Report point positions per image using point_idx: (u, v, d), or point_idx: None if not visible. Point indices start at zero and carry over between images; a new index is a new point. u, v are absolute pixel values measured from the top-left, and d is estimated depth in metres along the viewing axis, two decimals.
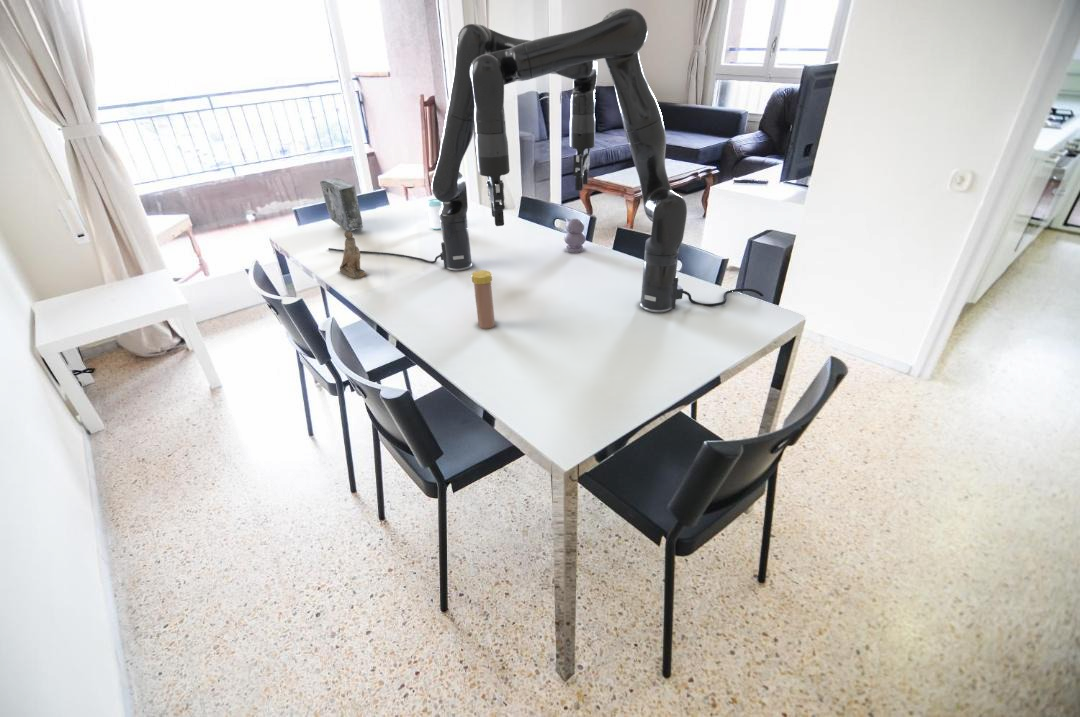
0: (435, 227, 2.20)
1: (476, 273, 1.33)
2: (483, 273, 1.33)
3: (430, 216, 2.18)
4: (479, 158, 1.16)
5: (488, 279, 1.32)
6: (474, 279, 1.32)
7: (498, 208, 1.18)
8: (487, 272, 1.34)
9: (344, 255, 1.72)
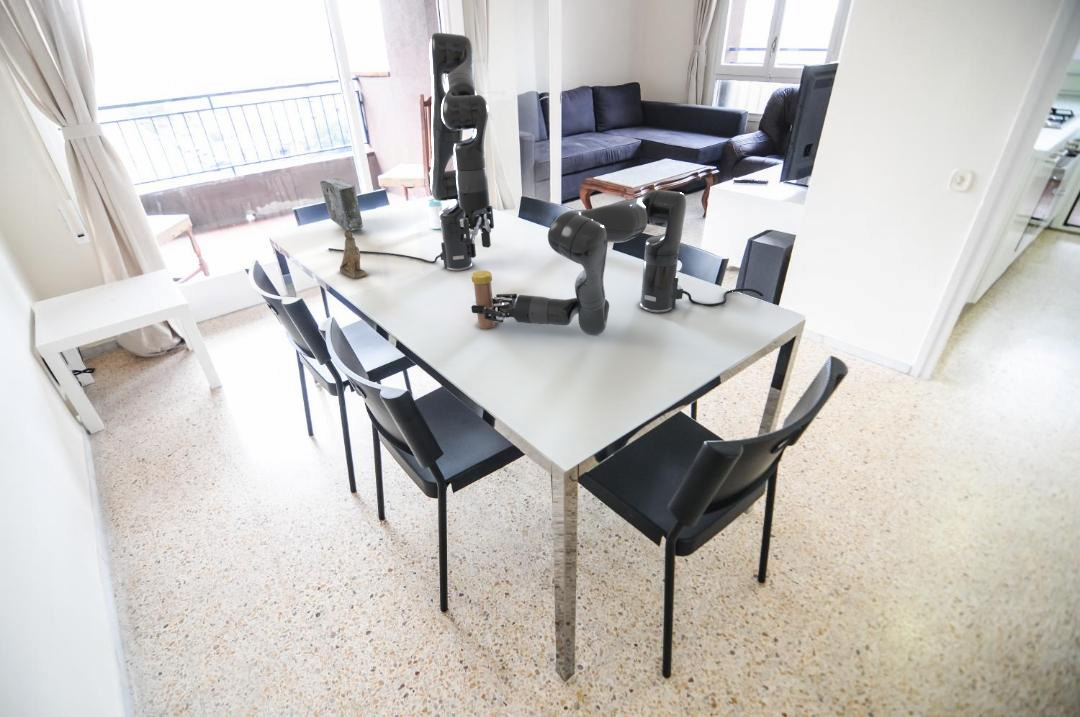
0: (435, 227, 2.20)
1: (476, 273, 1.33)
2: (483, 273, 1.33)
3: (430, 216, 2.18)
4: None
5: (488, 279, 1.32)
6: (474, 279, 1.32)
7: None
8: (487, 272, 1.34)
9: (344, 255, 1.72)
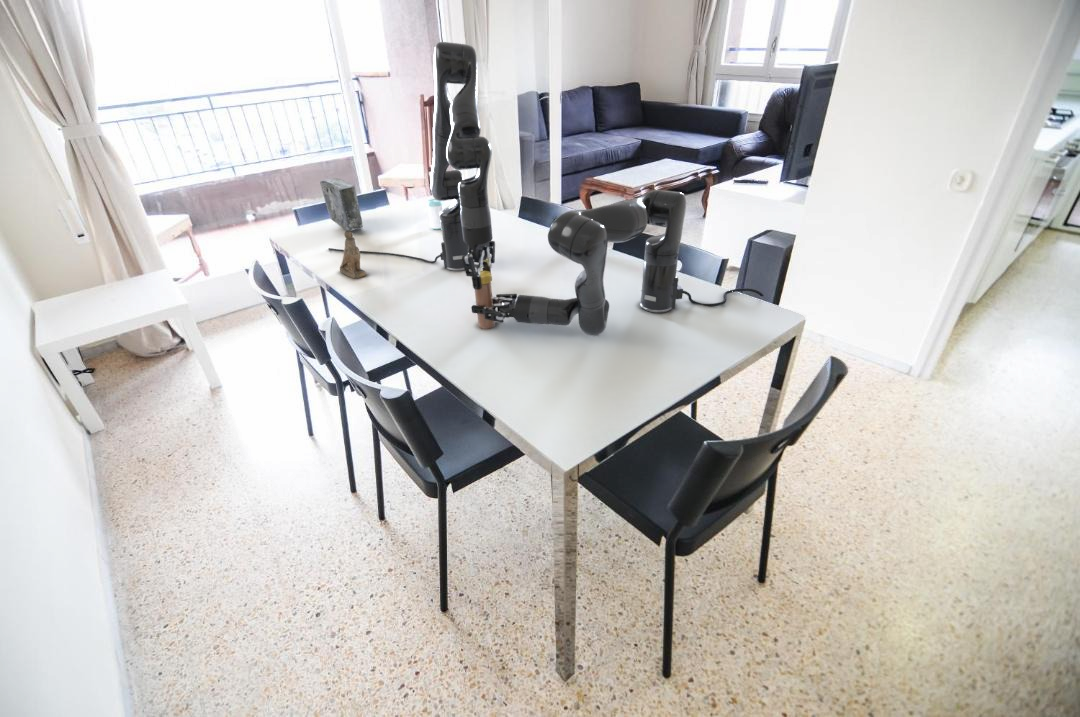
0: (435, 227, 2.20)
1: None
2: (483, 273, 1.33)
3: (430, 216, 2.18)
4: None
5: (488, 279, 1.32)
6: None
7: None
8: (487, 272, 1.34)
9: (344, 255, 1.72)
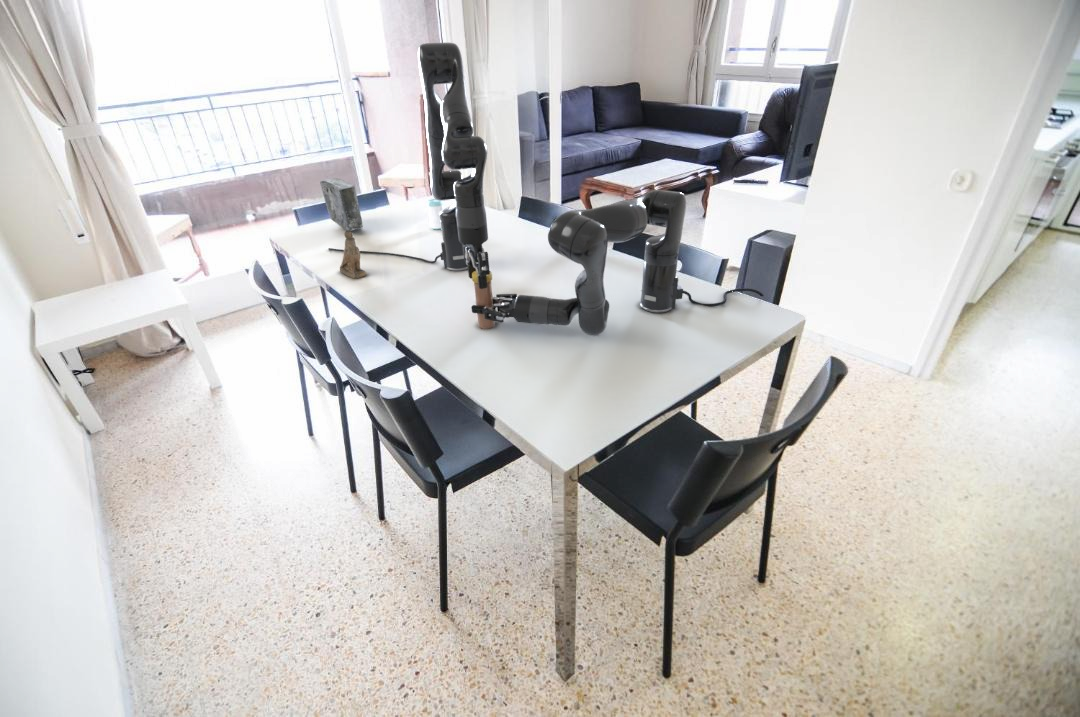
0: (435, 227, 2.20)
1: None
2: None
3: (430, 216, 2.18)
4: None
5: None
6: (487, 278, 1.31)
7: None
8: None
9: (344, 255, 1.72)
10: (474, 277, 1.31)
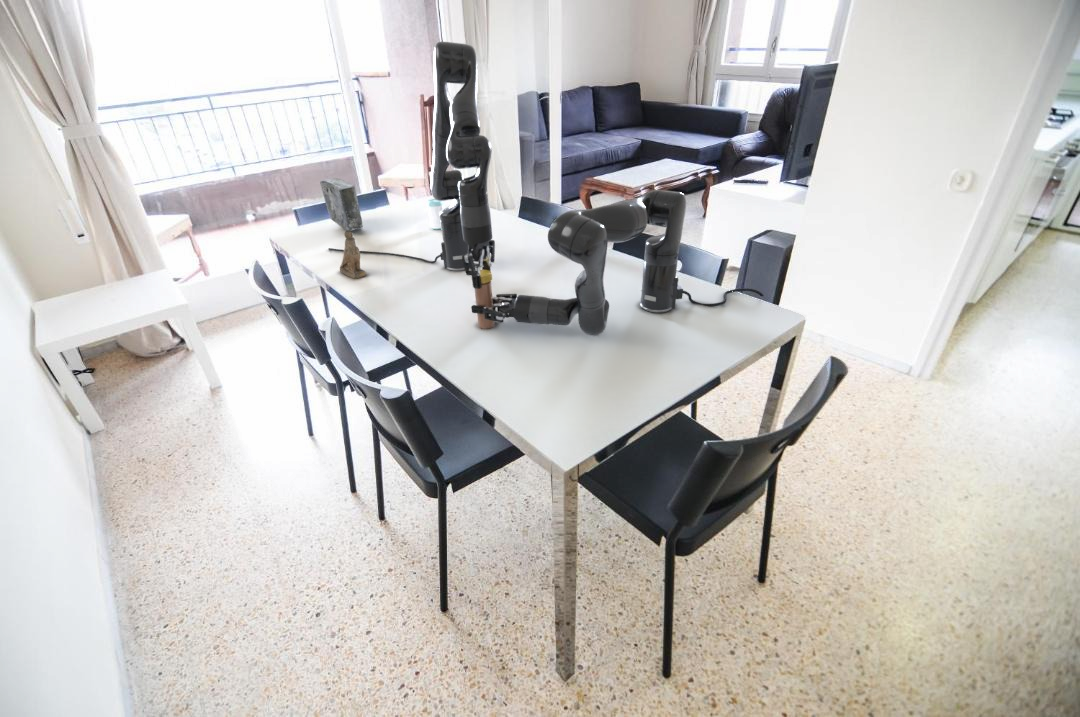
0: (435, 227, 2.20)
1: None
2: (480, 272, 1.33)
3: (430, 216, 2.18)
4: None
5: None
6: (486, 278, 1.31)
7: None
8: None
9: (344, 255, 1.72)
10: None
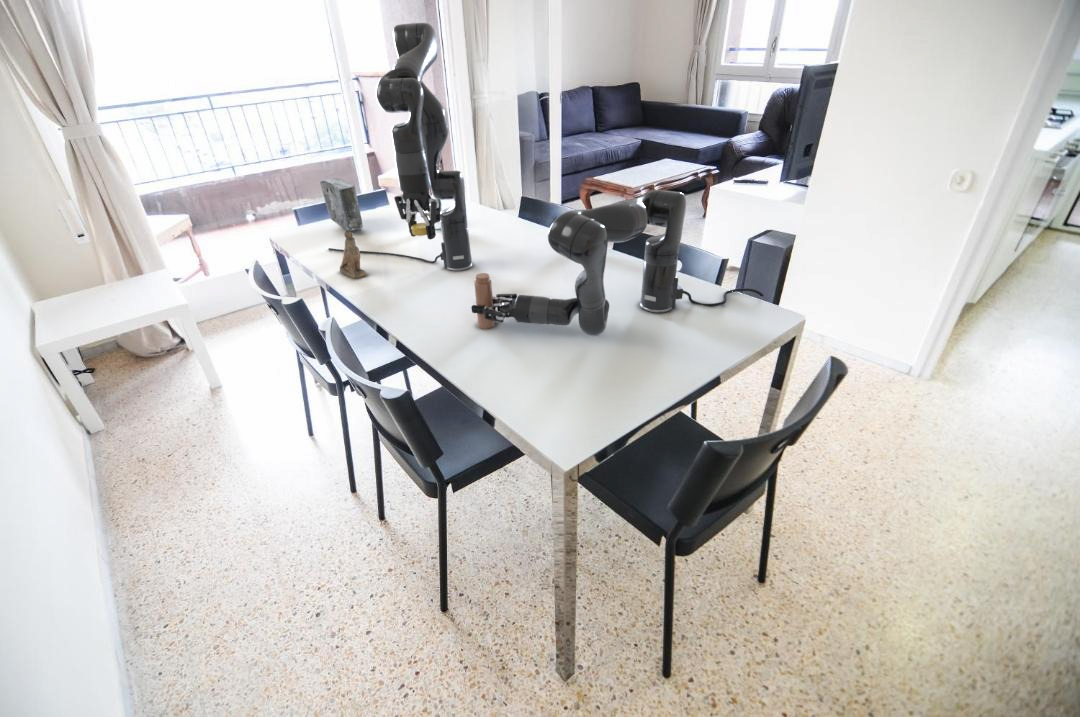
0: (435, 227, 2.20)
1: (425, 226, 1.30)
2: (419, 225, 1.30)
3: None
4: None
5: None
6: None
7: None
8: (414, 226, 1.30)
9: (344, 255, 1.72)
10: None
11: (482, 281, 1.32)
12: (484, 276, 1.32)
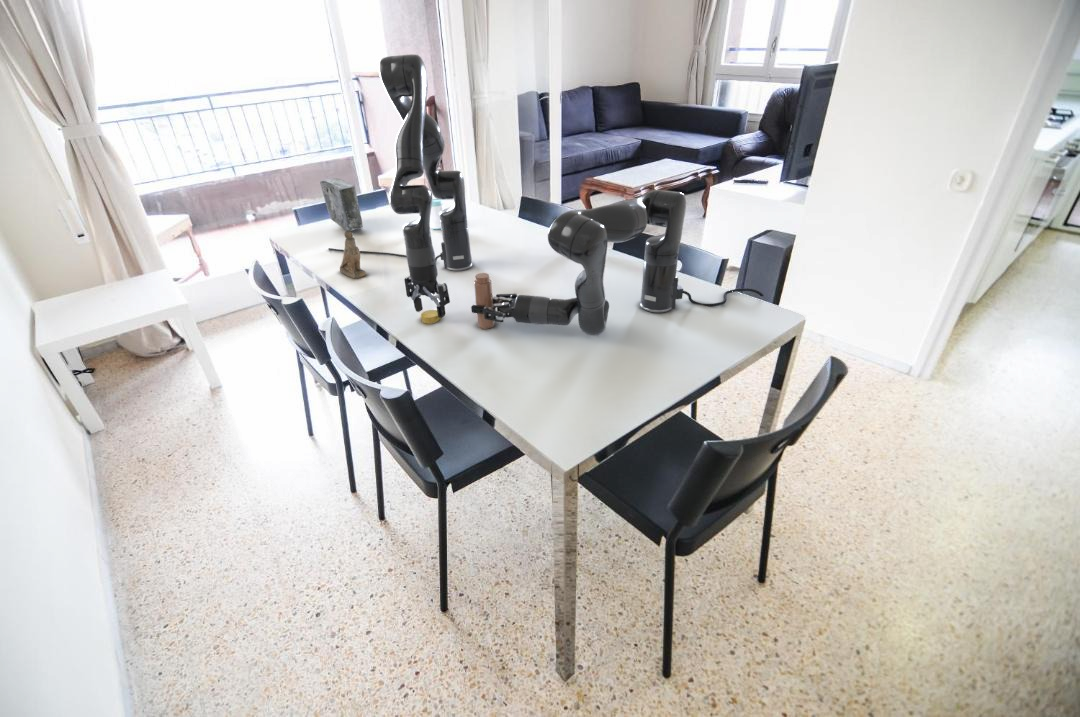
0: (435, 227, 2.20)
1: (433, 315, 1.43)
2: (427, 314, 1.44)
3: (430, 216, 2.18)
4: None
5: None
6: None
7: None
8: (423, 314, 1.44)
9: (344, 255, 1.72)
10: (434, 318, 1.43)
11: (482, 281, 1.32)
12: (484, 276, 1.32)
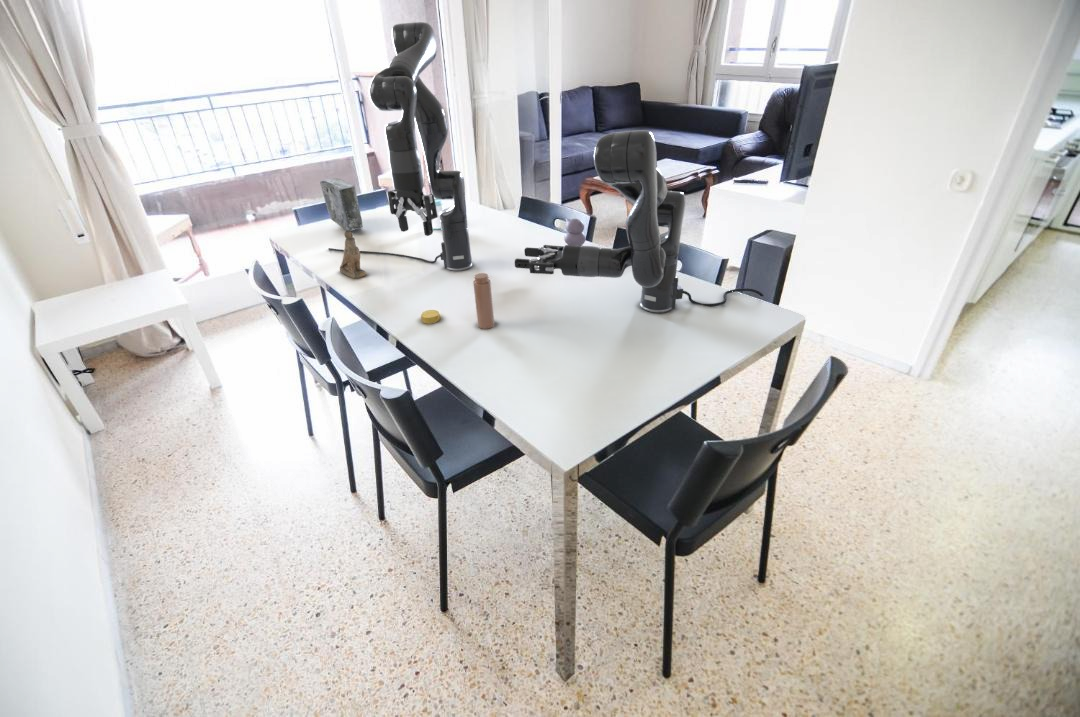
0: (435, 227, 2.20)
1: (433, 315, 1.43)
2: (427, 314, 1.44)
3: None
4: None
5: None
6: None
7: None
8: (423, 314, 1.44)
9: (344, 255, 1.72)
10: (434, 318, 1.43)
11: (481, 281, 1.32)
12: (483, 276, 1.33)
